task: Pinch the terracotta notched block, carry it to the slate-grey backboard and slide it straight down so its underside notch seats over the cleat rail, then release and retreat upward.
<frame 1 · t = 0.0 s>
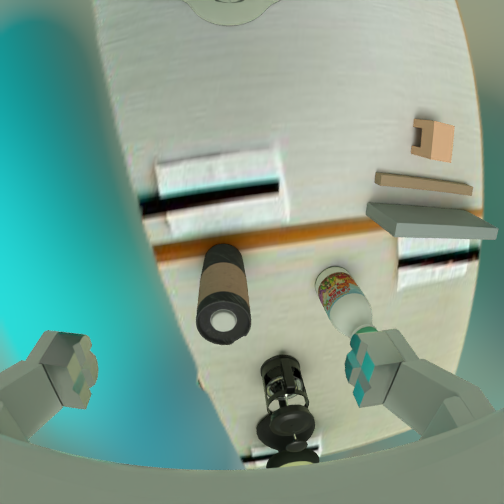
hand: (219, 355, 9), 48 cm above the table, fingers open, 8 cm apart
miniature padded chair: (283, 428, 84), on the table
french press: (280, 367, 73), on the table
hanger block: (422, 138, 54), on the table
milk bottle: (332, 282, 65), on the table
travel mug: (223, 260, 61), on the table
cleat board: (425, 182, 57), on the table
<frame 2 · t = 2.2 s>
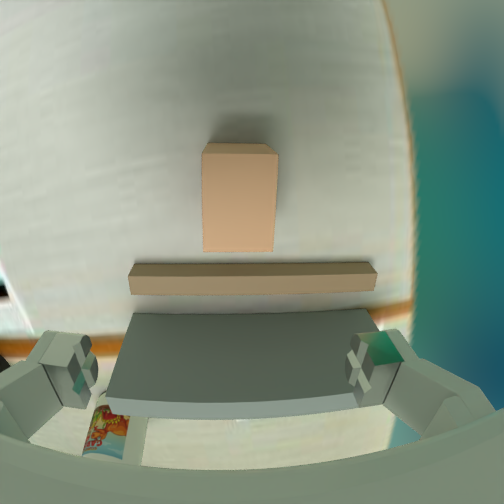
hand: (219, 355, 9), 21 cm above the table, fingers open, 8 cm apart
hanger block: (235, 182, 28), on the table
milk bottle: (123, 405, 40), on the table
cleat board: (254, 272, 32), on the table
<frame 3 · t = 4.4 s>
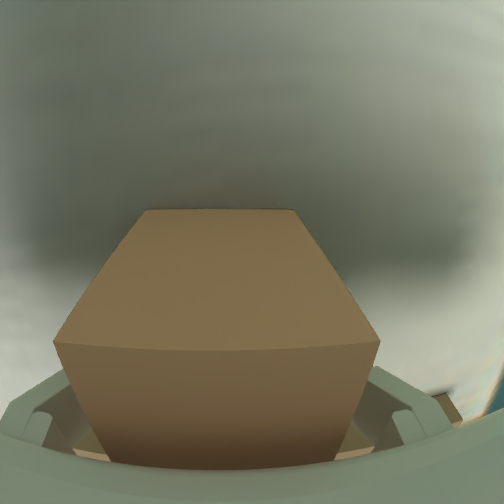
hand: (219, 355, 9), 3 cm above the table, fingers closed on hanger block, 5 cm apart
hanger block: (220, 299, 12), on the table, touching gripper
cleat board: (261, 433, 16), on the table
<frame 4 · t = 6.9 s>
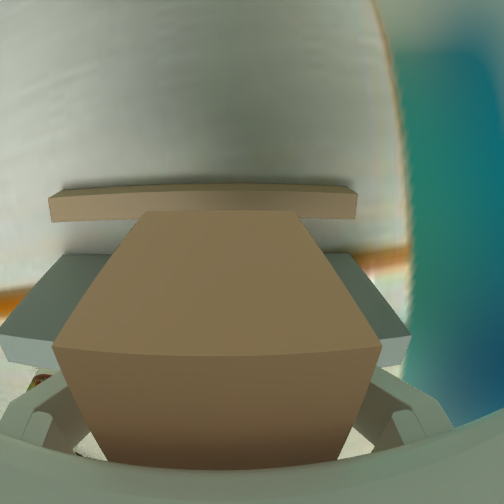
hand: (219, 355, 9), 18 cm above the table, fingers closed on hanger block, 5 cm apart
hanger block: (220, 301, 12), point 15 cm above the table, touching gripper
milk bottle: (67, 379, 33), on the table
cleat board: (198, 195, 25), on the table
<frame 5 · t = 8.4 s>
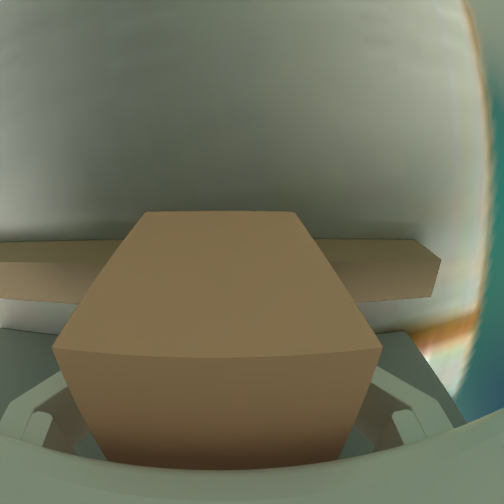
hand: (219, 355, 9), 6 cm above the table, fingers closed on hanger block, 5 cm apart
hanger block: (220, 301, 12), point 3 cm above the table, touching gripper
cleat board: (179, 259, 15), on the table
when the fingers open (4 cm above the table, at t = 9.2 s): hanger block drops 1 cm, resting in cleat board.
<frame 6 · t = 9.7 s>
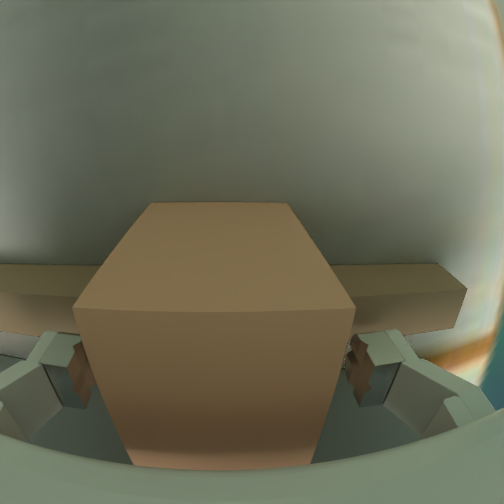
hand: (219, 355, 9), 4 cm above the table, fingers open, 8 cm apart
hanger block: (218, 287, 13), resting in cleat board
cleat board: (172, 288, 13), on the table
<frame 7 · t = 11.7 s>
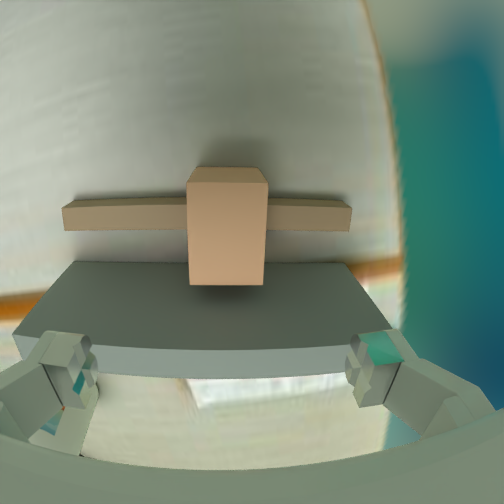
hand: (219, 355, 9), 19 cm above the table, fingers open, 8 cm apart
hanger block: (226, 208, 27), resting in cleat board
milk bottle: (73, 381, 34), on the table
cleat board: (203, 208, 27), on the table
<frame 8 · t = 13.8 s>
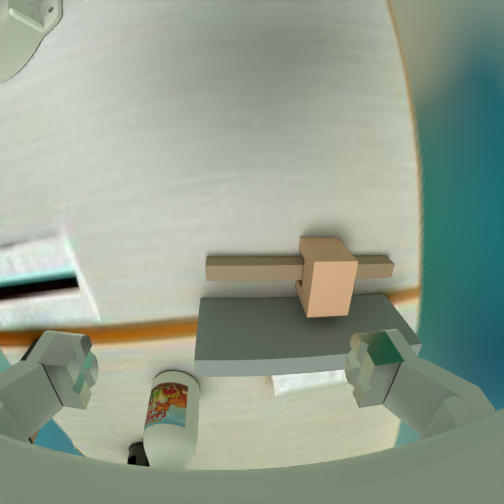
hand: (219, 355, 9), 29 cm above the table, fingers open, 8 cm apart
french press: (149, 450, 57), on the table
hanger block: (316, 263, 41), resting in cleat board
milk bottle: (176, 384, 48), on the table
cleat board: (302, 263, 41), on the table
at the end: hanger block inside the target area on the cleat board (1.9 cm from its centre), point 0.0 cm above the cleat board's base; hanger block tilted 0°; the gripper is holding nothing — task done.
